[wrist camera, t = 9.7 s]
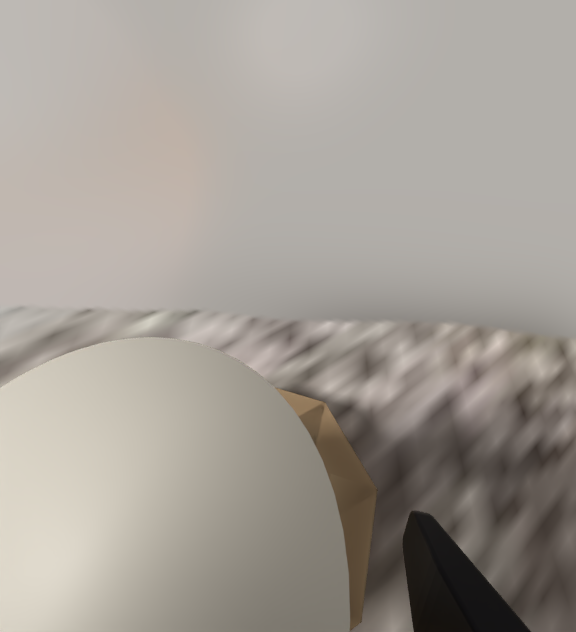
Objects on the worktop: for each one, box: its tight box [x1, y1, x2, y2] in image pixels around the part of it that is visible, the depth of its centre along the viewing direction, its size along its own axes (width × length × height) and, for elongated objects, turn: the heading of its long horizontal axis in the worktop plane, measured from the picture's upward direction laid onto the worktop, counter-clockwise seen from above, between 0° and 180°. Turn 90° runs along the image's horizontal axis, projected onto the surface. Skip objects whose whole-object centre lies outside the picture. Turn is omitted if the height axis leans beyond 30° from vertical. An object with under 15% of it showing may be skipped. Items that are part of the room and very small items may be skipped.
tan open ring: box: [274, 387, 378, 631], centre depth 13 cm, size 10×10×3 cm
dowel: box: [0, 337, 350, 632], centre depth 9 cm, size 4×4×14 cm
